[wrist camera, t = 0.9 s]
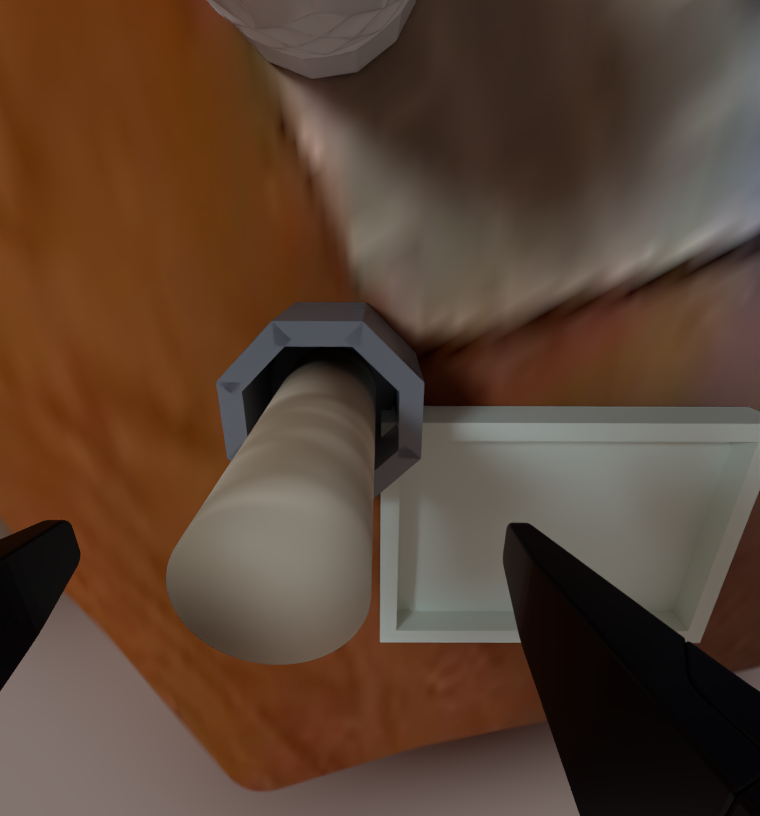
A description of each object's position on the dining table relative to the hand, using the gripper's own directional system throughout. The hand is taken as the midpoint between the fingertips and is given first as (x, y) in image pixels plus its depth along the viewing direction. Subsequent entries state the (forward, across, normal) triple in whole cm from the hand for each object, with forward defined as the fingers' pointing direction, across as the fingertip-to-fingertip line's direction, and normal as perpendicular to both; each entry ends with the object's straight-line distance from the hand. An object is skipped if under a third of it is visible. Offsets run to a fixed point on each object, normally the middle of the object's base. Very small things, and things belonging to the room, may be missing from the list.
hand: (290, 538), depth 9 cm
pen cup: (+10, 0, 0) cm, 10 cm away
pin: (+10, 0, 0) cm, 10 cm away
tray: (+10, -10, +7) cm, 16 cm away
